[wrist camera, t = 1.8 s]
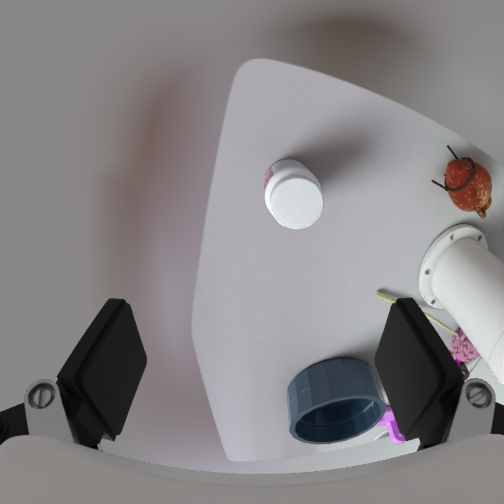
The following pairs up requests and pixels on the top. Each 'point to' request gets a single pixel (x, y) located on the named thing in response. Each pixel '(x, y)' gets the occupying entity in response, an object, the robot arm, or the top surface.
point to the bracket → (391, 426)
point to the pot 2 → (468, 185)
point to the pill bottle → (293, 194)
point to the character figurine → (462, 368)
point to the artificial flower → (459, 342)
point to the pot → (334, 401)
